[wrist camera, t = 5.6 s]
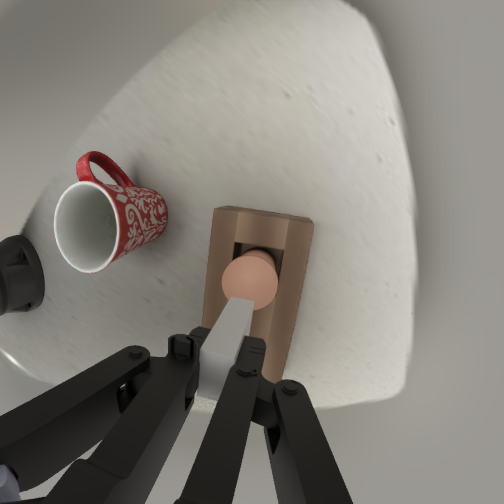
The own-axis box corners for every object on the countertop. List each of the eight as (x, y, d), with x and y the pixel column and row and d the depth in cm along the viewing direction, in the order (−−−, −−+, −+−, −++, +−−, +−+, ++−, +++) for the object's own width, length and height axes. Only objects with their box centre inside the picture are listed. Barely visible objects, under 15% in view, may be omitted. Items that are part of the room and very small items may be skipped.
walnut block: (211, 357, 40) (197, 385, 33) (228, 205, 35) (214, 208, 28) (278, 370, 39) (275, 400, 32) (309, 218, 34) (314, 224, 27)
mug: (181, 241, 37) (129, 266, 24) (126, 253, 38) (64, 279, 25) (163, 148, 35) (104, 131, 21) (109, 168, 36) (43, 164, 23)
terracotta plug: (232, 282, 31) (219, 304, 25) (238, 240, 30) (225, 252, 24) (275, 290, 31) (272, 314, 25) (283, 247, 30) (282, 261, 24)
